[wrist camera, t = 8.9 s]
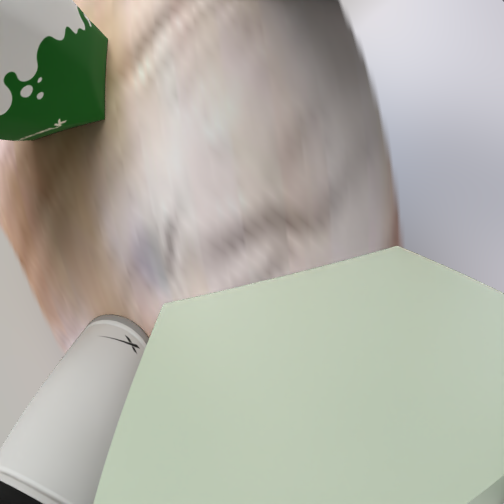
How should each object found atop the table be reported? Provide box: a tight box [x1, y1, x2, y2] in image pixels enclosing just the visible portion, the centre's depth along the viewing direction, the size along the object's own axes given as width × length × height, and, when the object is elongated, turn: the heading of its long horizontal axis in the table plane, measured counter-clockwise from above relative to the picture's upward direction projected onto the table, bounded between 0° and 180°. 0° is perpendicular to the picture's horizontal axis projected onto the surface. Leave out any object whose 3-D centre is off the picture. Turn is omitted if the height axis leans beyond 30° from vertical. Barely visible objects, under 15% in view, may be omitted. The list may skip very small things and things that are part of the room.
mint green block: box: [93, 246, 504, 504], centre depth 8 cm, size 10×10×10 cm
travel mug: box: [0, 315, 149, 504], centre depth 12 cm, size 6×7×20 cm
